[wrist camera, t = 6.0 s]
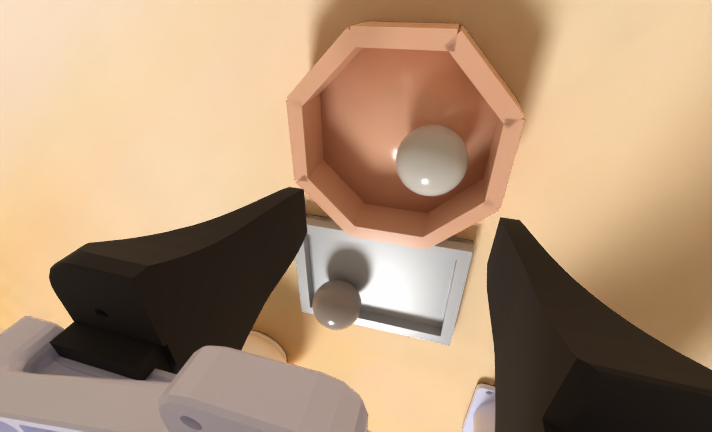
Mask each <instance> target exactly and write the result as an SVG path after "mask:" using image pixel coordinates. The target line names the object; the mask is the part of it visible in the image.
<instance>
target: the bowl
mask: <svg viewBox="0 0 712 432" xmlns="http://www.w3.org/2000/svg"><path fill="white" fill-rule="evenodd" d="M459 25H460V24H453V23H413V22H372V21H367V22H363V23H359V24H355V25H352V26H350V27H347V28H346V29H345V30H344V31H343V32H342V34H341V35H340V36H339V37H338V38H337V39H336V41H335V42H334V43H333V44H332V45H331V47H330V48H329V49H328V50H327V51H326V52H325V54H324V55H323V56H322V57H321V58H320V59H319V61H318V62H317V63H316V64H315V65H314V66H313V68H312V69H311V70H310V71H309V72H308V73H307V75H306V76H305V77H304V78H303V79H302V80H301V82H300V83H299V84H298V85H297V86H296V88H295V89H294V90H293V91H292V92H291V93H290V95H289V96H288V97H287V98H288V100H286V103H287V113H288V122H289V132H290V141H291V151H292V161H293V170H294V180H297V181H296V183H297V184H298V185H299V186H300V187H301V188H302V189H304V191H305V192H306V193H307V194H308V195H309V196H310V197H311V198H312V199H313V200H314V201H315V202H316V203H317V204H318V205H319V206H320V207H321V208H322V209H323V210H324V211H325V212H326V213H327V214H328V215H329V216H330V217H331V218H332V220H333V221H334V222H335V223H336V224H337V225H338V226H339V227H340V228H341V229H342V230H343V231H344V232H345V233H346V234H347V235H348V236H349V235H350V234H351V237H355V238H361V239H367V240H373V241H379V242H385V243H390V244H396V245H402V246H408V247H414V248H420V249H425V248H427V249H429V248H431V247H433V246H435V245H436V244H438V243H440V242H442V241H444V240H446V239H447V238H449V237H451V236H453V235H455V234H457V233H459V232H460V231H462V230H464V229H466V228H468V227H470V226H471V225H473V224H475V223H477V222H479V221H481V220H482V219H484V218H486V217H488V216H490V215H492V214H494V213H495V212H497V211H499V208H501V205H502V202H503V198H504V194H505V191H506V187H507V184H508V180H509V176H510V173H511V169H512V166H513V162H514V158H515V155H516V151H517V148H518V144H519V140H520V137H521V133H522V130H523V126H524V122H525V118H524V117H525V116H524V114H523V112H522V109H521V107H520V105H519V103H518V101H517V99H516V97H515V96H514V95H513V93H512V92H511V91H510V89H509V88H508V86H507V85H506V84H505V82H504V81H503V80H502V78H501V77H500V76H499V74H498V73H497V71H496V70H495V69H494V67H493V66H492V65H491V63H490V62H489V61H488V59H487V58H486V56H485V55H484V54H483V52H482V51H481V50H480V48H479V47H478V46H477V44H476V43H475V41H474V40H473V39H472V37H471V36H470V35H469V33H468V32H467V30H466V29H465V28H464V26H463V25H462V26H461V27H460V28H459ZM429 124H438V125H443V126H446V127H448V128H450V129H452V130H454V131H455V132H456V133H457V134H458V135H459V136H460V137H461V138H462V140H463V141H464V143H465V145H466V147H467V151H468V167H467V171H466V173H465V175H464V177H463V179H462V180H461V182H460V183H459V184H458V185H457V186H456V187H455V188H454V189H452V190H451V191H449V192H447V193H445V194H442V195H438V196H423V195H420V194H417V193H415V192H413V191H411V190H410V189H408V188H407V187H406V186H405V185H404V184H403V182H402V181H401V179H400V178H399V175H398V173H397V169H396V154H397V150H398V147H399V145H400V143H401V142H402V140H403V139H404V138H405V136H406V135H407V134H409V133H410V132H411V131H412V130H414V129H416V128H418V127H420V126H424V125H429Z"/></svg>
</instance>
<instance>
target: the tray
mask: <svg viewBox="0 0 712 432" xmlns="http://www.w3.org/2000/svg"><path fill="white" fill-rule="evenodd" d="M306 221H307V235H306V237H305V239H304V241H303V244H302V246H301V248H300V250H299V252H298V253H297V255H296V257H295V260H296V269H297V277H298V286H299V294H300V302H301V311H302V312H304V313H309V314H313V315H314V312H313V305H312V304H313V298H314V295H315V293H316V291H317V290H318V288H319V287H320V286H321V285H323V284H324V283H326V282H328V281H330V280H335V279H340V280H345V281H347V282H349V283H351V284H352V285H353V286H354V287H355V288H356V289H357V290H358V292H359V294H360V297H361V303H362V306H361V312H360V315H359V317H358V318H357V320H356V321H355V322H354V323H353V324H357V325H361V326H365V327H370V328H374V329H379V330H383V331H387V332H392V333H396V334H400V335H405V336H409V337H414V338H418V339H422V340H427V341H431V342H435V343H440V344H444V345H449V346H450V343H451V339H452V335H453V331H454V327H455V323H456V319H457V315H458V311H459V307H460V303H461V299H462V295H463V291H464V287H465V282H466V278H467V274H468V270H469V266H470V262H471V258H472V254H473V241H470V240H464V239H458V238H452V237H449V238H447V239H446V240H444V241H442V242H440V243H438V244H436V245H435V246H433V247H431V248H429V249H427V248H425V249H420V248H414V247H408V246H402V245H396V244H390V243H385V242H379V241H373V240H367V239H361V238H355V237H351V234H350V235H349V236H348V235H347V234H346V233H345V232H344V231H343V230H342V229H341V228H340V227H339V226H338V225H337V224H336V223H335V222H334V221H333V220H332V218H327V217H320V216H314V215H308V214H306Z"/></svg>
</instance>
